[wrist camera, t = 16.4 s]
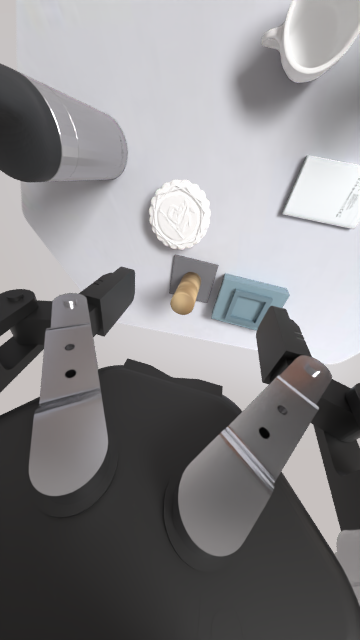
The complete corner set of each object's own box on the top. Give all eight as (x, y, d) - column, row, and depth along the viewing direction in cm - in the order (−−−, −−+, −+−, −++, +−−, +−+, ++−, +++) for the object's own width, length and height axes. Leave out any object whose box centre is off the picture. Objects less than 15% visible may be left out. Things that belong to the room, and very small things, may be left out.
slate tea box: (212, 311, 51) (210, 320, 48) (225, 273, 44) (224, 280, 41) (265, 325, 50) (267, 335, 47) (286, 288, 43) (290, 297, 40)
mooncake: (223, 219, 38) (222, 222, 35) (180, 257, 45) (176, 262, 42) (183, 162, 34) (179, 160, 31) (142, 212, 41) (135, 215, 38)
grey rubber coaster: (169, 292, 50) (169, 293, 50) (175, 254, 44) (174, 255, 44) (207, 301, 50) (207, 303, 49) (218, 265, 43) (218, 266, 43)
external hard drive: (305, 155, 31) (387, 171, 30) (280, 213, 36) (350, 227, 35) (308, 154, 29) (394, 171, 28) (282, 214, 35) (354, 229, 34)
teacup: (361, -19, 21) (392, -67, 17) (331, 86, 26) (350, 69, 22) (265, 2, 23) (271, -36, 19) (253, 96, 28) (256, 82, 24)
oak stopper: (180, 287, 48) (169, 311, 39) (184, 269, 45) (172, 292, 37) (198, 291, 48) (190, 317, 39) (203, 274, 45) (195, 298, 36)
